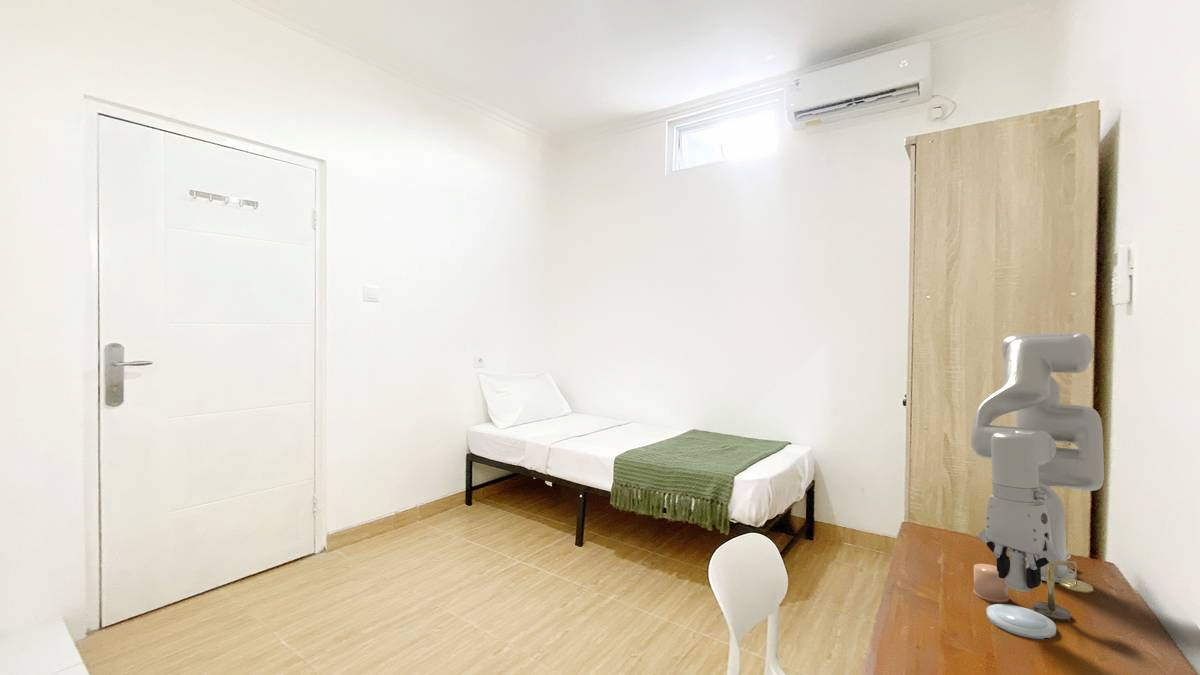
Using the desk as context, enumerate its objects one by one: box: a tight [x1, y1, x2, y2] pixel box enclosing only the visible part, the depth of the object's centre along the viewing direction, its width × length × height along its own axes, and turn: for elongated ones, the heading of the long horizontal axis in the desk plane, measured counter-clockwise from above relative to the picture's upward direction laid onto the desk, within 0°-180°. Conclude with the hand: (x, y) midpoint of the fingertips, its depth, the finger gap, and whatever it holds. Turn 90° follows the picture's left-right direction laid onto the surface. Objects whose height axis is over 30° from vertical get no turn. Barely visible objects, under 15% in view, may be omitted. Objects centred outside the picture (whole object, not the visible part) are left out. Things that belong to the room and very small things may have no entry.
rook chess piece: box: [1005, 548, 1033, 593], centre depth 104 cm, size 4×4×8 cm
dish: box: [986, 603, 1057, 640], centre depth 104 cm, size 11×11×1 cm
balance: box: [1025, 558, 1094, 622], centre depth 107 cm, size 6×14×12 cm, turn 25°
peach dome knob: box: [972, 563, 1010, 604], centre depth 116 cm, size 6×6×6 cm
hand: (1018, 580), depth 104 cm, fingers closed on rook chess piece, 4 cm apart
